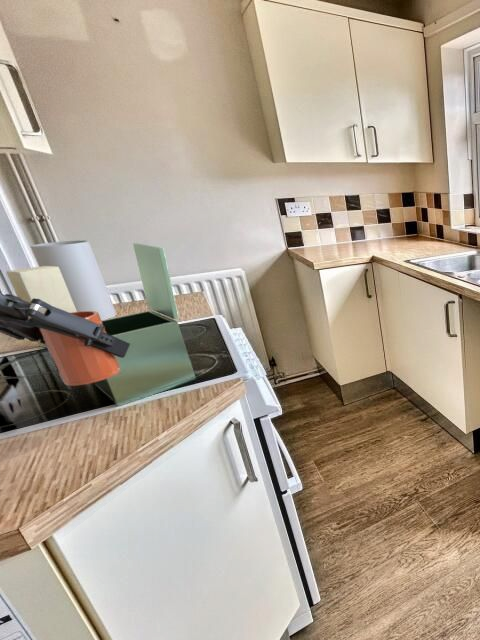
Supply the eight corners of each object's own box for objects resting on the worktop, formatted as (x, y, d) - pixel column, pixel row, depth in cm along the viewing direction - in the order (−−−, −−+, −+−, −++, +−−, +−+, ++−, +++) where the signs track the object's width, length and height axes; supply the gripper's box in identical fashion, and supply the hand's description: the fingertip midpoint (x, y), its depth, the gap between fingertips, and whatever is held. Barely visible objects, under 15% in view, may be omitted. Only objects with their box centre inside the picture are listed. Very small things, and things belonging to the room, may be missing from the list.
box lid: (158, 248, 83) (163, 248, 84) (132, 243, 92) (137, 243, 92) (174, 319, 88) (179, 318, 88) (148, 308, 96) (152, 307, 97)
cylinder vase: (84, 328, 129) (50, 246, 120) (55, 326, 132) (19, 246, 123) (127, 316, 141) (98, 240, 132) (99, 314, 143) (69, 240, 134)
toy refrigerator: (75, 336, 123) (44, 265, 115) (89, 339, 120) (58, 266, 113) (38, 346, 116) (3, 271, 108) (53, 349, 113) (17, 272, 106)
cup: (59, 378, 74) (32, 319, 70) (113, 364, 80) (91, 308, 76) (69, 389, 70) (41, 327, 66) (126, 373, 76) (103, 315, 72)
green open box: (118, 406, 83) (90, 341, 78) (96, 386, 91) (70, 326, 86) (196, 380, 93) (177, 321, 88) (170, 364, 102) (151, 310, 97)
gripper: (-146, 309, 55) (44, 368, 76) (-9, 310, 53) (147, 370, 74) (-110, 261, 58) (64, 330, 79) (21, 260, 56) (163, 332, 77)
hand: (104, 350), depth 77 cm, fingers closed on cup, 7 cm apart
